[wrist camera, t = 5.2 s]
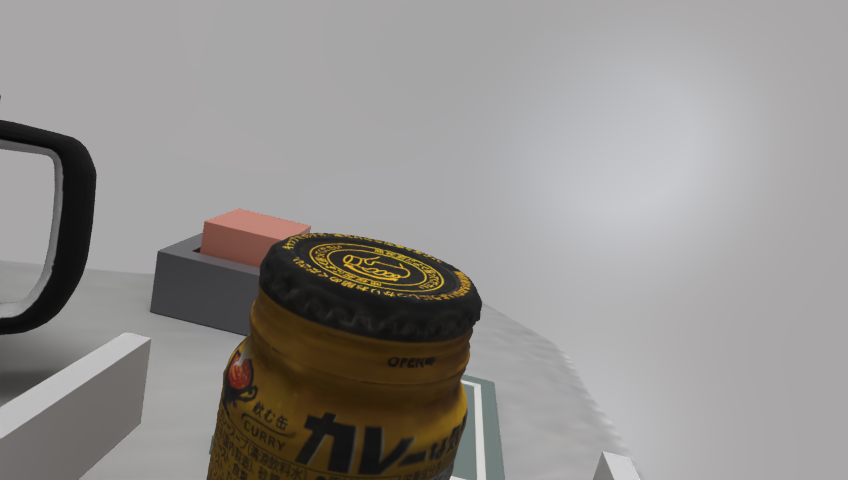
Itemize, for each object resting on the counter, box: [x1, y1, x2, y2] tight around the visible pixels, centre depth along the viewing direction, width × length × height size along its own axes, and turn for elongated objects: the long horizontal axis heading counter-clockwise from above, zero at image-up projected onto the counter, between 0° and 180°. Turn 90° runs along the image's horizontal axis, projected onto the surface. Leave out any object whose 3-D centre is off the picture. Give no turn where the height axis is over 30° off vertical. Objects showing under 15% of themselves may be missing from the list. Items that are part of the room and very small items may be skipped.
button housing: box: [150, 233, 260, 336], centre depth 38 cm, size 9×9×4 cm
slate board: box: [210, 375, 505, 480], centre depth 28 cm, size 13×12×1 cm
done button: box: [200, 209, 311, 268], centre depth 38 cm, size 5×5×3 cm
